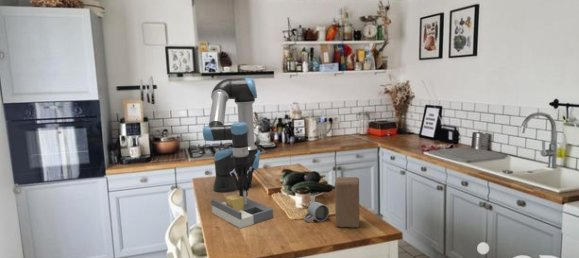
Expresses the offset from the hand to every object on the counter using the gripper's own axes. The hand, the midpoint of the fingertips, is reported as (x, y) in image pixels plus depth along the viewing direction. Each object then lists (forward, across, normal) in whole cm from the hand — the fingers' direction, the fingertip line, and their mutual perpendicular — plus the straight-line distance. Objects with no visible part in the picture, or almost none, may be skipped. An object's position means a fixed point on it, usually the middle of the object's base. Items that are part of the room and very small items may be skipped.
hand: (244, 203), depth 184 cm
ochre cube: (+2, -5, 0) cm, 5 cm away
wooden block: (+6, +27, -42) cm, 50 cm away
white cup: (+6, +31, -11) cm, 33 cm away
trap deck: (+6, -1, 0) cm, 6 cm away
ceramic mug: (+6, +20, -28) cm, 35 cm away
